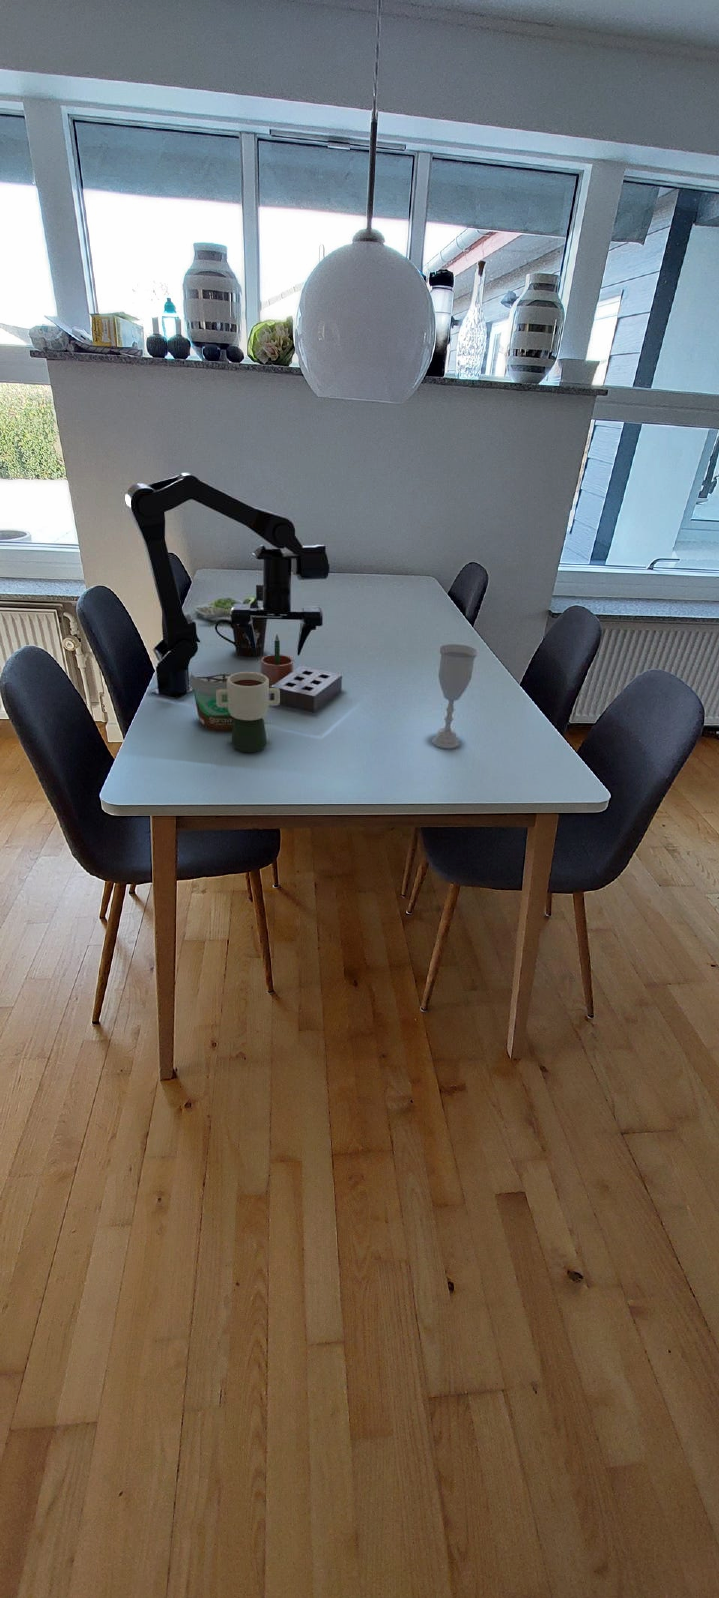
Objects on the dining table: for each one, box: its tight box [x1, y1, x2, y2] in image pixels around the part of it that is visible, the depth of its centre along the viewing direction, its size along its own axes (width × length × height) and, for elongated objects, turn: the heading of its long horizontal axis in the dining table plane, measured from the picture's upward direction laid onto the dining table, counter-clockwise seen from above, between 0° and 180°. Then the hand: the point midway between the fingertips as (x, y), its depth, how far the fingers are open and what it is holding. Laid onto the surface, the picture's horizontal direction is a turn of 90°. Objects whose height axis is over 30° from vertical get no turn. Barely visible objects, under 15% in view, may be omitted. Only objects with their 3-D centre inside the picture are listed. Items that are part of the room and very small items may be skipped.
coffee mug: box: [214, 608, 269, 658], centre depth 162 cm, size 12×9×10 cm
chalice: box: [432, 643, 479, 749], centre depth 126 cm, size 7×7×18 cm
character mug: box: [216, 671, 280, 753], centre depth 120 cm, size 11×7×13 cm, turn 103°
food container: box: [189, 670, 254, 733], centre depth 127 cm, size 12×6×10 cm, turn 105°
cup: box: [260, 654, 294, 687], centre depth 149 cm, size 7×7×5 cm
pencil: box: [274, 633, 281, 665], centre depth 148 cm, size 1×1×10 cm
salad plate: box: [194, 596, 263, 623], centre depth 189 cm, size 19×18×5 cm
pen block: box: [270, 665, 343, 714], centre depth 143 cm, size 10×14×4 cm
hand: (276, 654), depth 147 cm, fingers open, 9 cm apart
